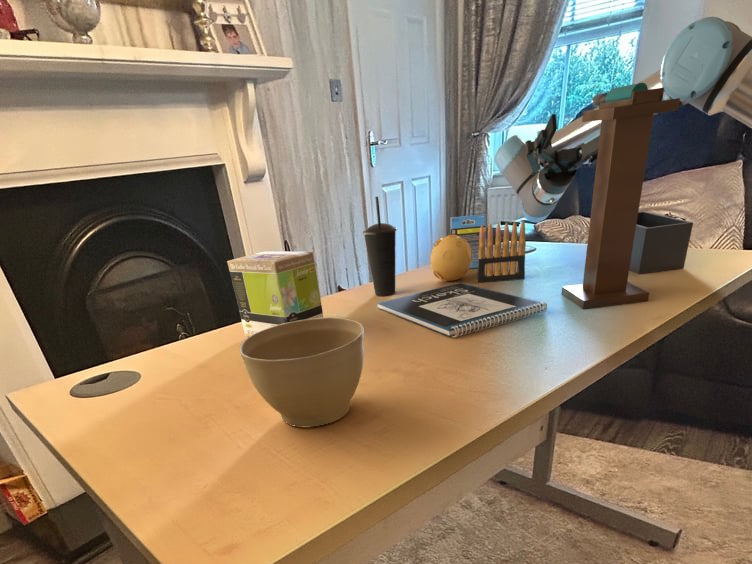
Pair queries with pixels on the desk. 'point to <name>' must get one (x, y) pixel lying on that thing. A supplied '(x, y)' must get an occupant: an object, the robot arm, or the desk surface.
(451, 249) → the stress ball
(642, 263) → the pen holder
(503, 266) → the ammunition clip
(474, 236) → the label tape box
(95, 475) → the desk surface
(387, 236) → the drinking cup
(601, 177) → the headphone stand
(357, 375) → the planter bowl
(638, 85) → the marker
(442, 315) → the sketchbook
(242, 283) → the tea box
